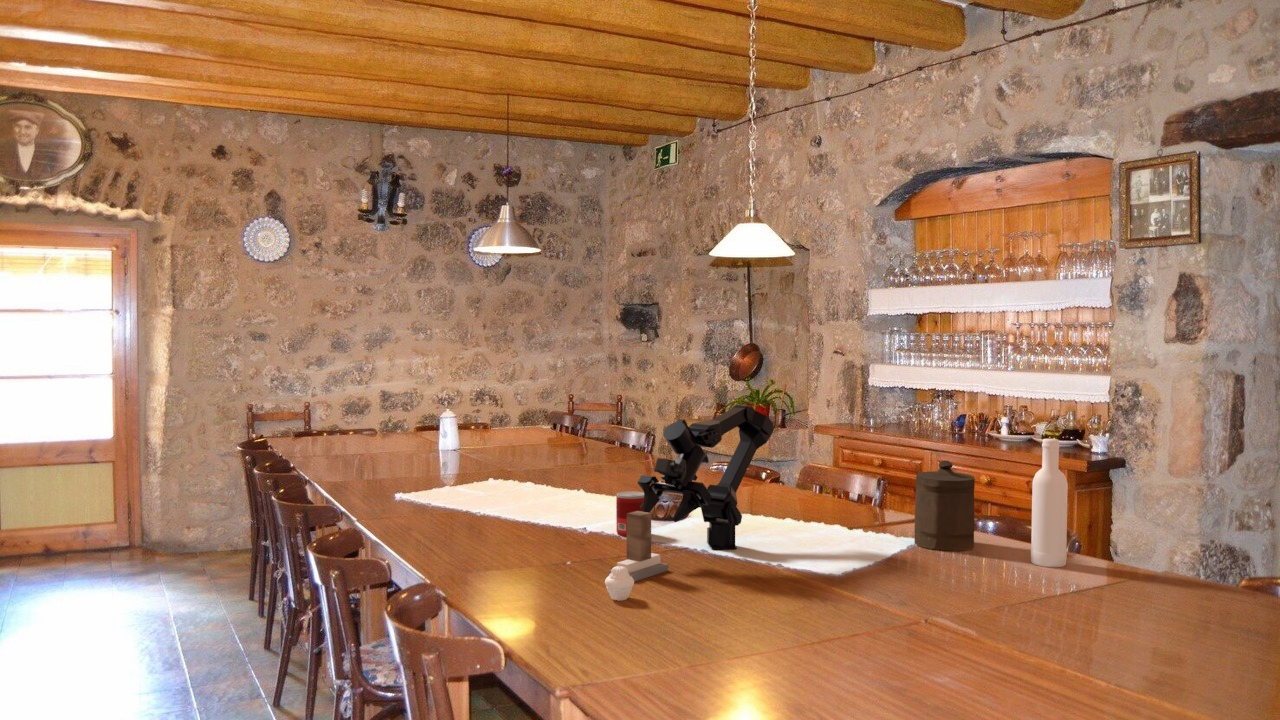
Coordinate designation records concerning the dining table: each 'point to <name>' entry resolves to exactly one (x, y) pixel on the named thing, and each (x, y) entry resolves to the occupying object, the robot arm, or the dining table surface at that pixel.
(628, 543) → the tall brown block
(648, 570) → the ridge block
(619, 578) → the muffin
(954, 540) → the wooden container
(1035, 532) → the bottle
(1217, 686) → the dining table surface
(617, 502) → the canned food
